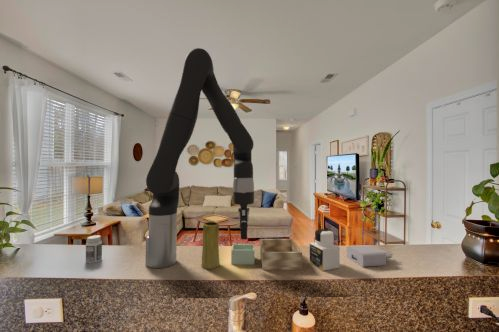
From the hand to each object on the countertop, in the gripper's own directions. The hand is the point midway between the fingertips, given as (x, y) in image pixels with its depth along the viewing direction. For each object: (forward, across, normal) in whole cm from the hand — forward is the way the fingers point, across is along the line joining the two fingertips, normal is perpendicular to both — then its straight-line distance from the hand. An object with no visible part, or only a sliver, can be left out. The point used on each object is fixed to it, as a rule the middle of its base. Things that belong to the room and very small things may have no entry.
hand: (244, 235), depth 80 cm
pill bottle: (+8, 0, -54) cm, 54 cm away
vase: (+9, +4, -12) cm, 15 cm away
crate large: (+9, 0, +12) cm, 16 cm away
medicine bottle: (+10, +4, +28) cm, 29 cm away
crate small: (+9, 0, 0) cm, 9 cm away
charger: (+10, 0, +47) cm, 48 cm away
